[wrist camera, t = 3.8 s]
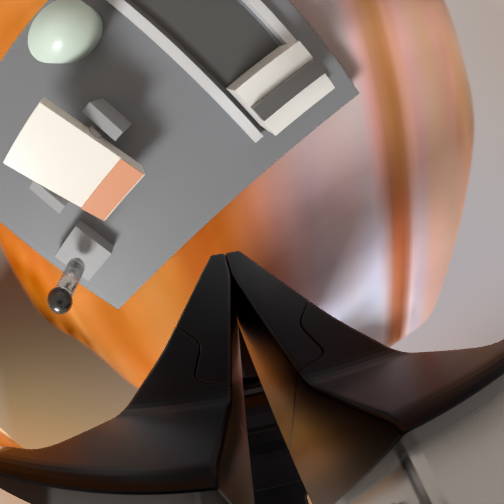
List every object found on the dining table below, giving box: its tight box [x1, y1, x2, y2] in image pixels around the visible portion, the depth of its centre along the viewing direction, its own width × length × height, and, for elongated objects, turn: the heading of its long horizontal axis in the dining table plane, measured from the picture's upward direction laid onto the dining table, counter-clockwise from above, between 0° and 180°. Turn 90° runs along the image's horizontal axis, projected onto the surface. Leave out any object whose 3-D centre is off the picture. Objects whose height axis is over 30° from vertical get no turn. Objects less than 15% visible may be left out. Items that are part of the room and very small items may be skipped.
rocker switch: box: [3, 96, 145, 221], centre depth 13 cm, size 7×4×1 cm, turn 41°
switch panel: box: [0, 0, 359, 309], centre depth 14 cm, size 18×23×5 cm
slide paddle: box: [226, 41, 335, 136], centre depth 14 cm, size 3×4×4 cm
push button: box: [28, 0, 103, 64], centre depth 10 cm, size 4×4×2 cm
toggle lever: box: [47, 258, 85, 314], centre depth 16 cm, size 2×2×4 cm
